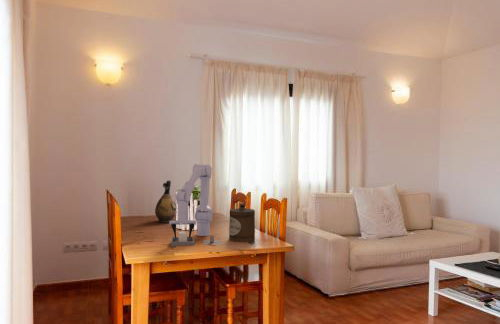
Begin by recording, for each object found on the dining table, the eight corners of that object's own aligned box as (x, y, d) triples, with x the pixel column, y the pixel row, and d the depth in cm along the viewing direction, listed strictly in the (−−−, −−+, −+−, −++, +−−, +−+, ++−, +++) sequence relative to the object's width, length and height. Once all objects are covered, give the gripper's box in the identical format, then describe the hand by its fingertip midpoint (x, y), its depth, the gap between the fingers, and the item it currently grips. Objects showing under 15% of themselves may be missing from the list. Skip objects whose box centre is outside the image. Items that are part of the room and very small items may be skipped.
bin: (171, 242, 223) (171, 237, 223) (193, 242, 225) (193, 236, 225) (171, 247, 211) (171, 242, 211) (194, 247, 213) (194, 241, 213)
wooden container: (225, 239, 233) (226, 202, 233) (248, 237, 240) (249, 201, 239) (234, 245, 220) (235, 205, 219) (259, 243, 226) (259, 204, 226)
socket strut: (178, 244, 215) (178, 233, 215) (178, 242, 220) (178, 231, 220) (186, 244, 216) (187, 233, 216) (186, 242, 221) (186, 231, 221)
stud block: (202, 242, 225) (202, 232, 225) (219, 241, 227) (219, 232, 227) (203, 247, 214) (203, 237, 213) (222, 246, 215) (222, 236, 215)
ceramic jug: (174, 223, 283) (174, 181, 283) (152, 223, 283) (153, 181, 283) (178, 219, 300) (179, 180, 300) (158, 219, 300) (158, 179, 300)
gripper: (169, 214, 213) (169, 239, 213) (196, 213, 215) (196, 238, 216) (169, 212, 219) (169, 236, 220) (196, 212, 222) (195, 236, 223)
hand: (182, 237), depth 218 cm, fingers open, 7 cm apart
